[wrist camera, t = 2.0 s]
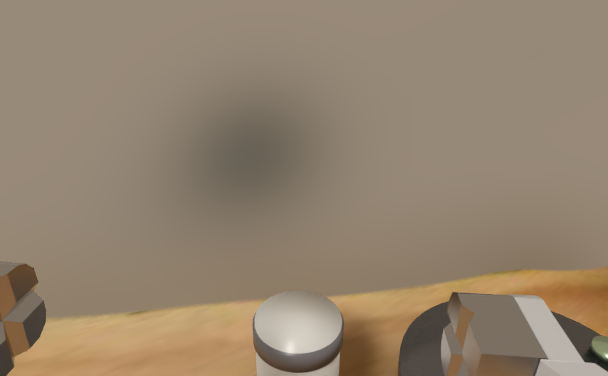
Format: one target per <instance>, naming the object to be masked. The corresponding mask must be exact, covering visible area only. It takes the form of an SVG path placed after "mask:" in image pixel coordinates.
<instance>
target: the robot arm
mask: <svg viewBox="0 0 608 376" xmlns="http://www.w3.org/2000/svg"><path fill="white" fill-rule="evenodd" d="M37 284H38V280H37V277H36V274H35V271H34V268H32V267H30V266H29V265H27V264H23V263H11V262H0V376H6V375H7V374H8V373H9V372H10V371H11V370H12V369H13V367H14V357H15V356H17V355H19V354H21V353H23V352H24V351H26V350H28V349H30V348H31V347H32V346H33V344H34V343H35V342H36V341H37V340H38V338H39V337H40V335H41V332H42V330H43V327H44V325H45V322H46V309H45V305H44V301H43V300H42V299H41V298H40V297H39V296H38V295H37V294H36V293H35V292H34V289H35V287H36V285H37ZM447 311H448V314H449V317H450V320H451V323H450V324H448V325H447V326H446V327H445V328H444V329H443V335H442V341H441V360H442V367H443V372H444V376H608V372H607V371H606V370H604V369H603V368H601V367H600V366H598V365H596V364H595V363H585V362H584V360H583V359H582V357H581V356H580V354H579V353H578V351H577V350H576V348H575V347H574V345H573V344H572V342H571V341H570V339H569V338H568V336H567V335H566V334H565V332H564V331H563V329H562V328H561V326H560V325H559V323H558V322H557V320H556V319H555V317H554V316H553V314H552V313H551V311H550V310H549V308H548V307H547V305H546V304H545V302H544V301H543V299H541V298H540V297H538V296H535V295H493V294H475V293H458V292H452V295H451V297H450V299H449V304H448V308H447Z"/></svg>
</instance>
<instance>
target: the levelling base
mask: <svg viewBox="0 0 608 376" xmlns="http://www.w3.org/2000/svg"><path fill="white" fill-rule="evenodd" d="M448 304H449V302H445V303H442V304H439V305H437V306H434V307H432V308H430V309H429V310H427V311H425V312H424V313H422V314H421V315H420V316H419V317H417V318H416V319H415V320H414V321H413V323H412V324H411V325H410V326H409V328H408V329H407V331H406V333H405V335H404V337H403V340H402V344H401V348H400V355H399V363H398V376H444V372H443V367H442V360H441V341H442V335H443V329H444V328H445V327H446V326H447V325H448V324H450V323H451V320H450V317H449V314H448V311H447V308H448ZM551 313H552V314H553V316H554V317H555V319H556V320H557V322H558V323H559V325H560V326H561V328H562V329H563V331H564V332H565V334H566V335H567V336H568V338H569V339H570V341H571V342H572V344H573V345H574V347H575V348H576V350H577V351H578V353H579V354H580V356H581V357H582V359H583V360H584V362H585V363H595V364H596V365H598V366H600V367H601V368H603V369H604V370H606V371H607V372H608V337H606V336H601V335H600V334H598V333H596V332H595V331H593V330H591V329H589V328H587V327H586V326H584V325H582V324H580V323H578V322H576V321H574V320H571V319H569V318H567V317H565V316H563V315H560V314H557V313H555V312H552V311H551Z"/></svg>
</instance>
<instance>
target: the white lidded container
mask: <svg viewBox="0 0 608 376" xmlns="http://www.w3.org/2000/svg"><path fill="white" fill-rule="evenodd" d="M343 327H344V322H343V317H342V314H341V312H340V311H339V309H338V308H337V306H336V305H335V304H334V303H333V302H332V301H331V300H329V299H328V298H326V297H324V296H322V295H319V294H317V293H313V292H308V291H289V292H284V293H280V294H277V295H275V296H272V297H271V298H269V299H267V300H266V301H265V302H263V303H262V304H261V305H260V307H259V308H258V310H257V311H256V313H255V315H254V318H253V340H254V347H255V350H256V366H257V376H339V364H340V350H341V348H342V342H343Z"/></svg>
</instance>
